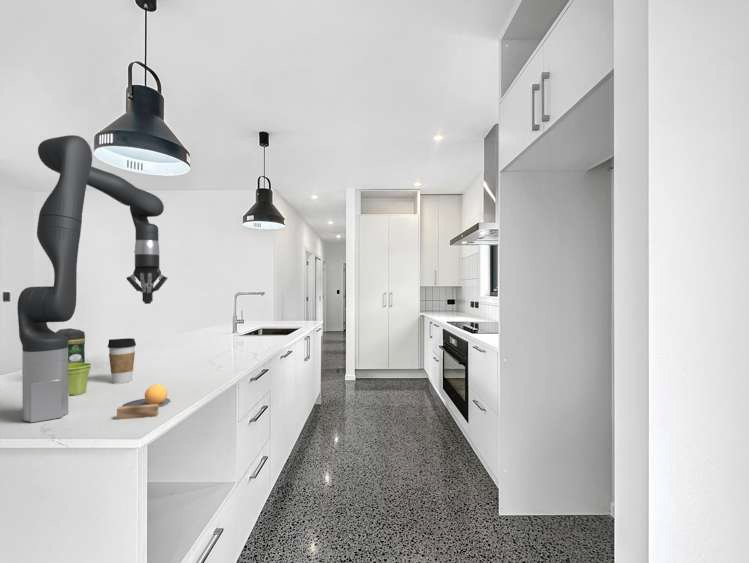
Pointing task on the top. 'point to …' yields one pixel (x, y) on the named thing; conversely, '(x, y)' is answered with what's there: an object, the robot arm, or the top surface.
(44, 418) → the robot arm
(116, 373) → the coffee cup
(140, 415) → the block
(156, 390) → the ball
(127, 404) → the disc
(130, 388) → the top surface
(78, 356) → the coffee jar
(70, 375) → the plant pot
